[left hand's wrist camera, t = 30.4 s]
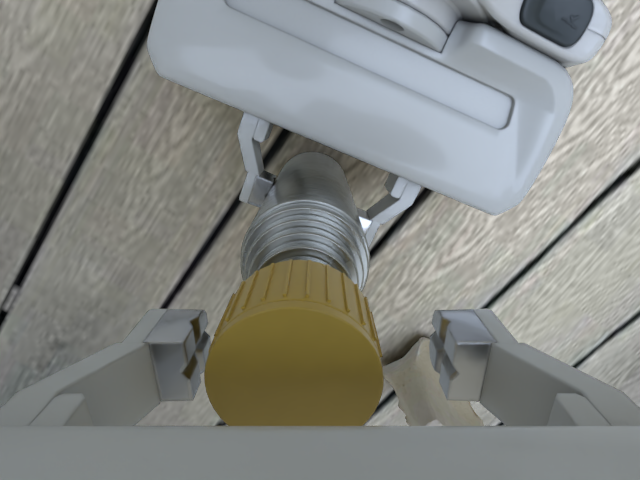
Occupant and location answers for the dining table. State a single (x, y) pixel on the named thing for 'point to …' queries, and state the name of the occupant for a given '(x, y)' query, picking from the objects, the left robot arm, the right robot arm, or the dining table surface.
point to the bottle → (308, 221)
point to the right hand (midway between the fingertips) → (305, 222)
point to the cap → (295, 350)
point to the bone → (425, 391)
